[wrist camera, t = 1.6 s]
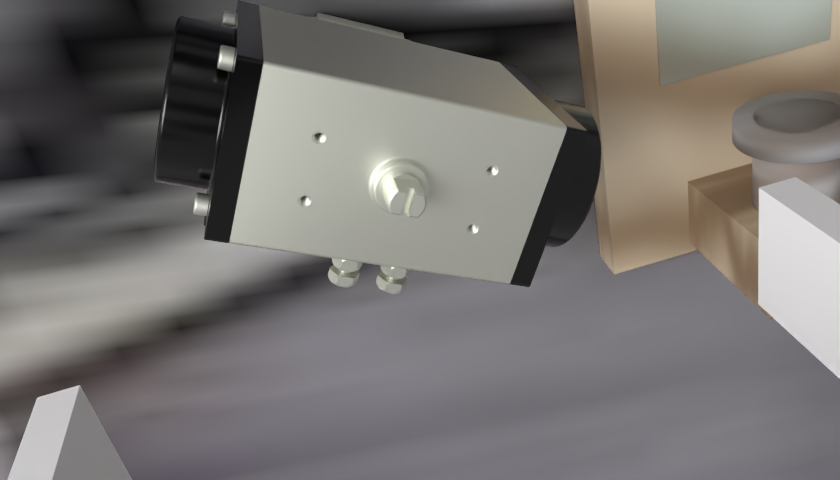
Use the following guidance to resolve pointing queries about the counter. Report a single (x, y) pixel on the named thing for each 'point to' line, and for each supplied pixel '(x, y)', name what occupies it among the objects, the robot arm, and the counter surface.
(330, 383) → the counter surface
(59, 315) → the counter surface
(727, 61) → the pipe stand
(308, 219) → the pneumatic valve
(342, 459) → the counter surface
